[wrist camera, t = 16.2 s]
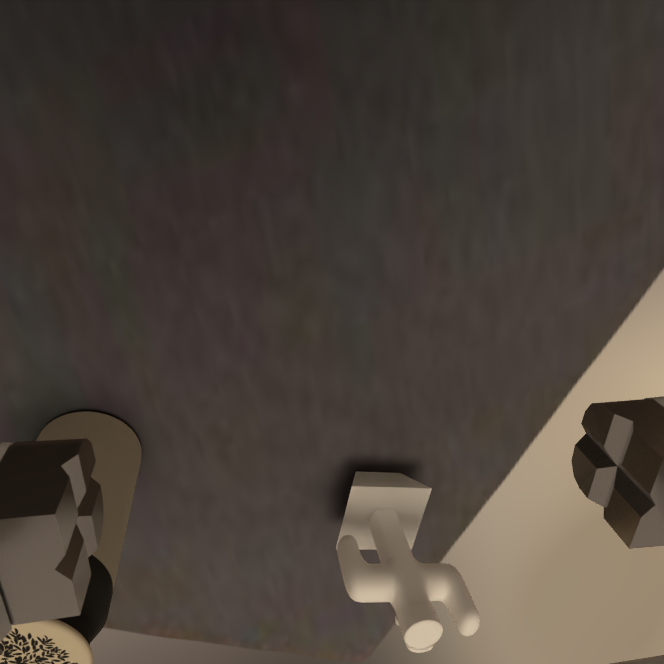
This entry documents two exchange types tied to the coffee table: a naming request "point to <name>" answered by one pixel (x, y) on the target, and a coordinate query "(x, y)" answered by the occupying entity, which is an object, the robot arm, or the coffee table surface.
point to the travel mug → (117, 490)
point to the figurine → (399, 559)
